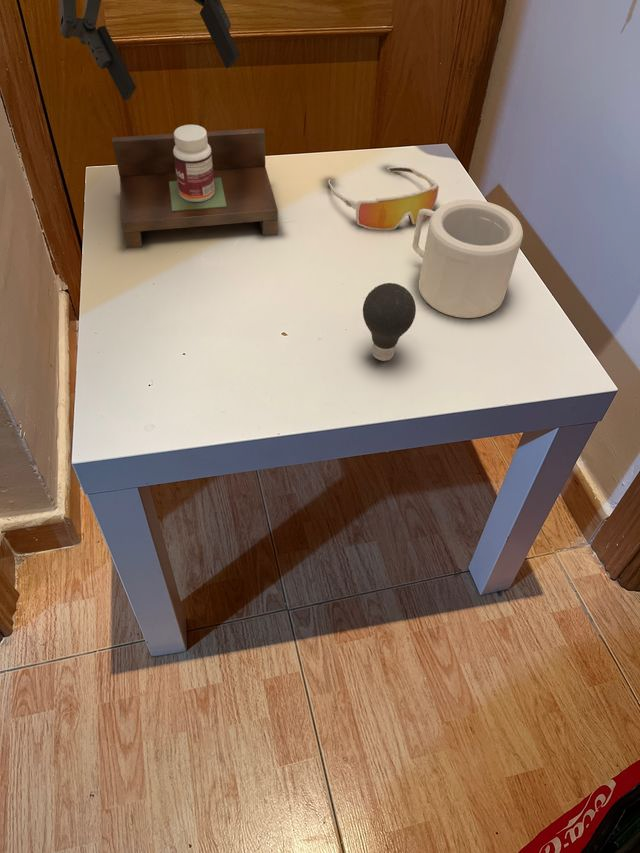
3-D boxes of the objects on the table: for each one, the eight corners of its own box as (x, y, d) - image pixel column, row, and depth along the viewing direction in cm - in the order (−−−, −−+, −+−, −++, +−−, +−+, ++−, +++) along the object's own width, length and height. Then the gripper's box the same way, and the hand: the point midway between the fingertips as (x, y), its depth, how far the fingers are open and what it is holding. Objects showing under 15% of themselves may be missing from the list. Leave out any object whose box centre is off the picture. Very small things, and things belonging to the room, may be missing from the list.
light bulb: (395, 337, 81) (407, 267, 73) (414, 370, 77) (428, 301, 70) (350, 346, 79) (357, 276, 72) (367, 380, 76) (376, 311, 68)
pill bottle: (175, 186, 92) (167, 125, 85) (211, 181, 93) (205, 120, 87) (182, 205, 89) (174, 144, 83) (218, 200, 90) (213, 139, 84)
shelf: (126, 249, 90) (113, 186, 83) (124, 198, 97) (112, 137, 90) (278, 236, 93) (277, 174, 86) (265, 187, 100) (263, 127, 93)
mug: (520, 292, 87) (542, 224, 79) (470, 333, 82) (489, 264, 74) (435, 246, 92) (448, 177, 85) (383, 281, 87) (392, 212, 80)
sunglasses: (360, 241, 92) (361, 206, 89) (316, 198, 102) (315, 164, 99) (451, 220, 96) (455, 185, 93) (399, 180, 106) (401, 147, 103)
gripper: (175, -113, 80) (258, 65, 85) (-34, -79, 69) (75, 124, 74) (196, -164, 74) (285, 33, 78) (-31, -135, 63) (89, 92, 67)
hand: (183, 77), depth 76 cm, fingers open, 13 cm apart
